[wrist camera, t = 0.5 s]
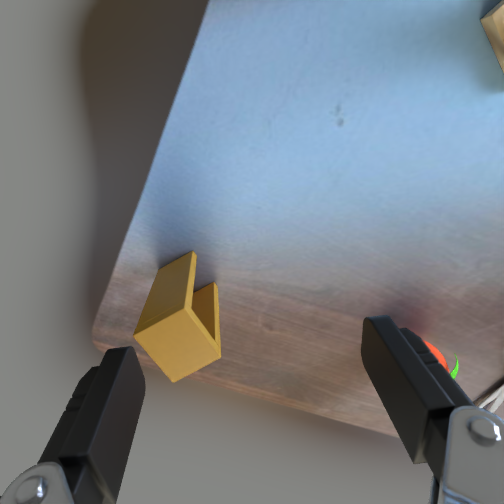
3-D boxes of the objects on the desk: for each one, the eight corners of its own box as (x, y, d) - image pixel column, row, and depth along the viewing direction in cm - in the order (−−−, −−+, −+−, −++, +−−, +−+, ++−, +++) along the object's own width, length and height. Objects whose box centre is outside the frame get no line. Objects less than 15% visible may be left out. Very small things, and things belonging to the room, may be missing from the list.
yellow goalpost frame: (157, 269, 31) (132, 336, 21) (192, 250, 31) (184, 307, 21) (184, 305, 33) (172, 383, 23) (217, 287, 33) (221, 357, 22)
